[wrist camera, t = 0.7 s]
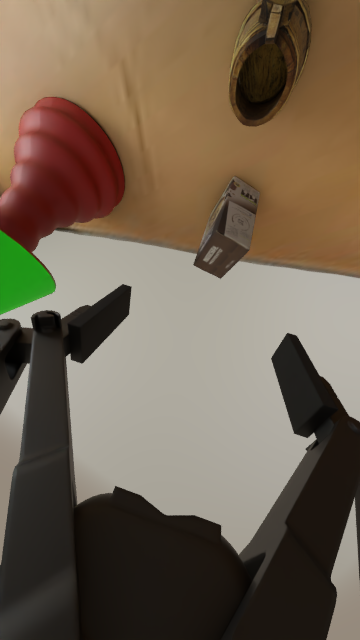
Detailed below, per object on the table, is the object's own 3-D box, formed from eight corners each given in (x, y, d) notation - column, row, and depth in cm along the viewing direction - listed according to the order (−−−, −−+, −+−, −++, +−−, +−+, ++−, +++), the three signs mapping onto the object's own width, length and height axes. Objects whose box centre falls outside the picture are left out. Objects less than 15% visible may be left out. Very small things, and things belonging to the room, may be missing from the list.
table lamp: (107, 99, 32) (-218, 348, 12) (134, 213, 50) (21, 392, 29) (8, 92, 35) (-387, 281, 15) (67, 202, 52) (-79, 357, 32)
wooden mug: (370, -117, 16) (441, -189, 8) (286, 114, 28) (281, 179, 20) (260, -116, 17) (225, -179, 9) (225, 106, 29) (197, 165, 21)
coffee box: (233, 174, 36) (216, 229, 29) (261, 192, 37) (251, 250, 30) (209, 214, 44) (191, 265, 37) (233, 228, 45) (220, 280, 38)
